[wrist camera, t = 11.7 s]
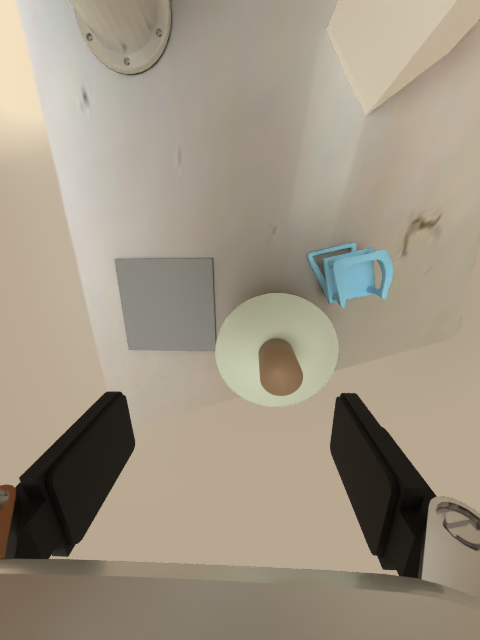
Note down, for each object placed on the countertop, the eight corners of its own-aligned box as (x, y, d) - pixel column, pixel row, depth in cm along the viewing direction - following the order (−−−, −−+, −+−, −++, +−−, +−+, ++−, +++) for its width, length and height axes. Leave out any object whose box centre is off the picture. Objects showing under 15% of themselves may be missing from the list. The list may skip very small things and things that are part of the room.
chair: (313, 300, 40) (338, 320, 28) (306, 253, 37) (330, 253, 26) (358, 291, 39) (403, 307, 27) (353, 242, 36) (401, 236, 25)
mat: (116, 259, 39) (114, 259, 39) (212, 258, 38) (212, 258, 38) (130, 348, 44) (128, 349, 43) (216, 349, 43) (215, 351, 42)
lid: (214, 292, 25) (202, 303, 19) (343, 292, 24) (370, 304, 18) (218, 400, 29) (210, 436, 23) (329, 404, 28) (348, 441, 22)
